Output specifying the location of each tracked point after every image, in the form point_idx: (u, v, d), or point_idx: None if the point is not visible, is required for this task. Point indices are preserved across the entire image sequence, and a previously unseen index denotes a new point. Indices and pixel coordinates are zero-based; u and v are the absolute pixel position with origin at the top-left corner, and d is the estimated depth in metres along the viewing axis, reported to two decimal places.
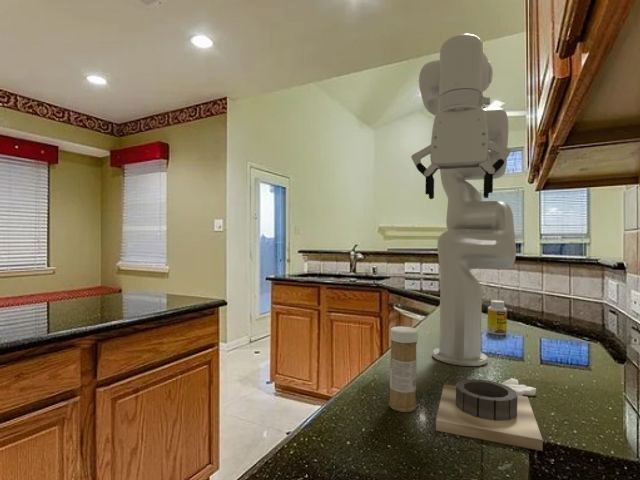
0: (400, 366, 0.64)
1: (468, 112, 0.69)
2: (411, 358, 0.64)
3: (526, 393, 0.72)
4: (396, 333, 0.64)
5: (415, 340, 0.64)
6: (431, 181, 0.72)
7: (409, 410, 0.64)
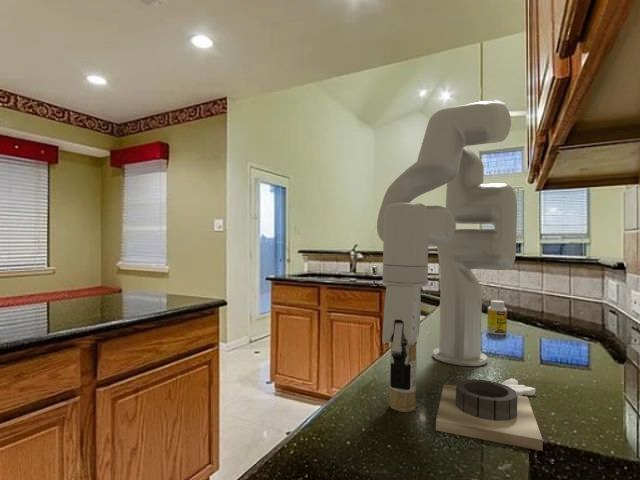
0: None
1: (420, 287, 0.66)
2: (411, 358, 0.64)
3: (525, 393, 0.72)
4: None
5: (415, 340, 0.64)
6: None
7: (409, 410, 0.64)
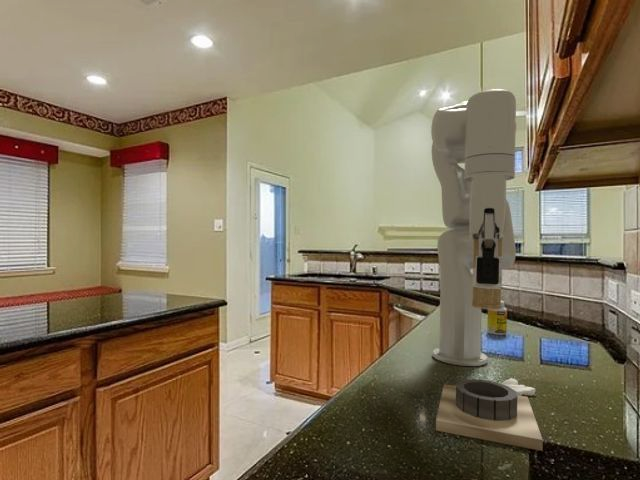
0: None
1: None
2: (498, 253, 0.61)
3: (525, 393, 0.72)
4: None
5: None
6: None
7: (496, 307, 0.61)
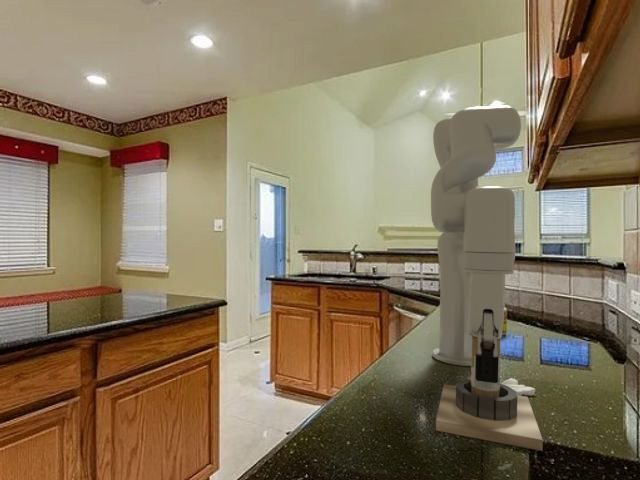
0: None
1: None
2: None
3: (525, 393, 0.72)
4: (480, 329, 0.61)
5: None
6: None
7: None
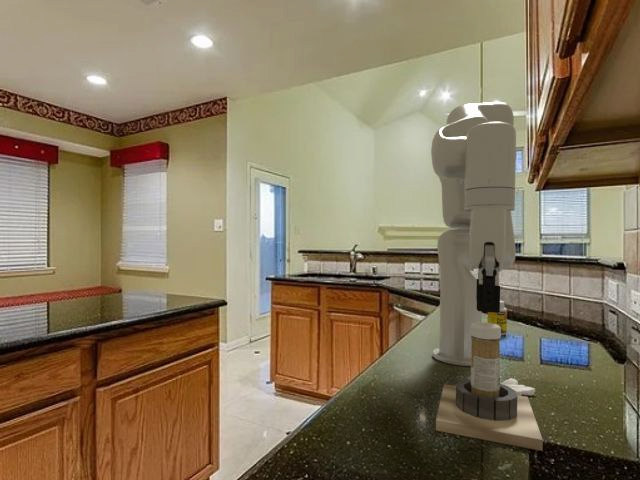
0: (484, 364, 0.61)
1: None
2: (496, 355, 0.61)
3: (525, 393, 0.72)
4: (480, 329, 0.61)
5: (499, 336, 0.61)
6: None
7: None
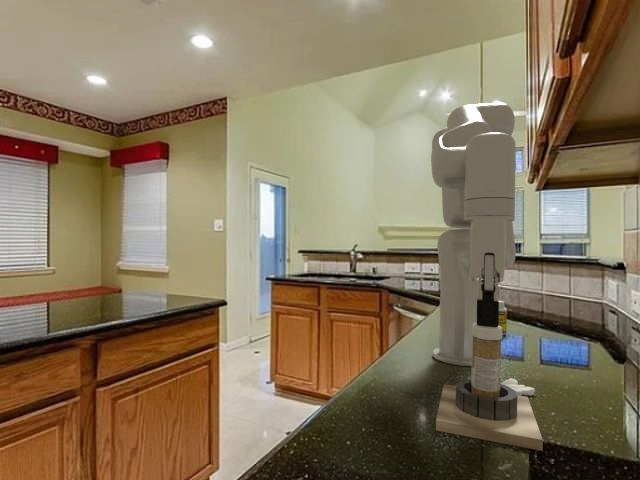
0: (485, 364, 0.61)
1: None
2: (497, 356, 0.61)
3: (524, 393, 0.72)
4: (481, 330, 0.61)
5: (501, 337, 0.61)
6: None
7: None
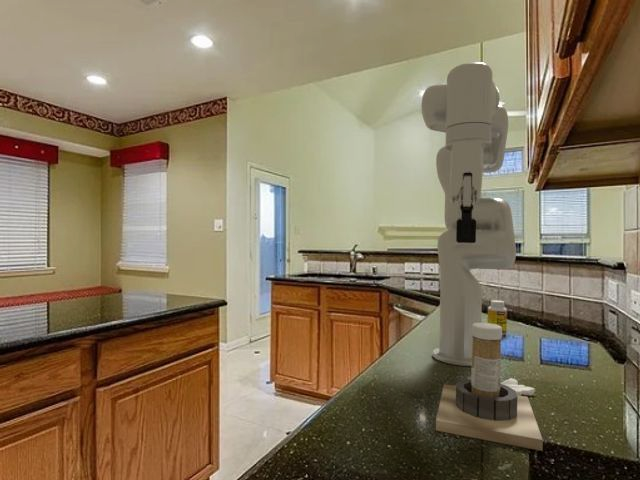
0: (485, 364, 0.61)
1: None
2: (497, 355, 0.61)
3: (524, 393, 0.72)
4: (481, 330, 0.61)
5: (501, 337, 0.61)
6: None
7: None
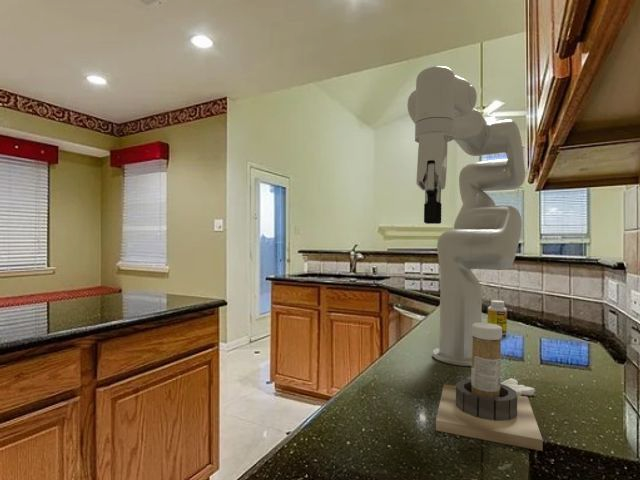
0: (485, 364, 0.61)
1: None
2: (497, 355, 0.61)
3: (524, 393, 0.72)
4: (481, 330, 0.61)
5: (501, 337, 0.61)
6: None
7: None
